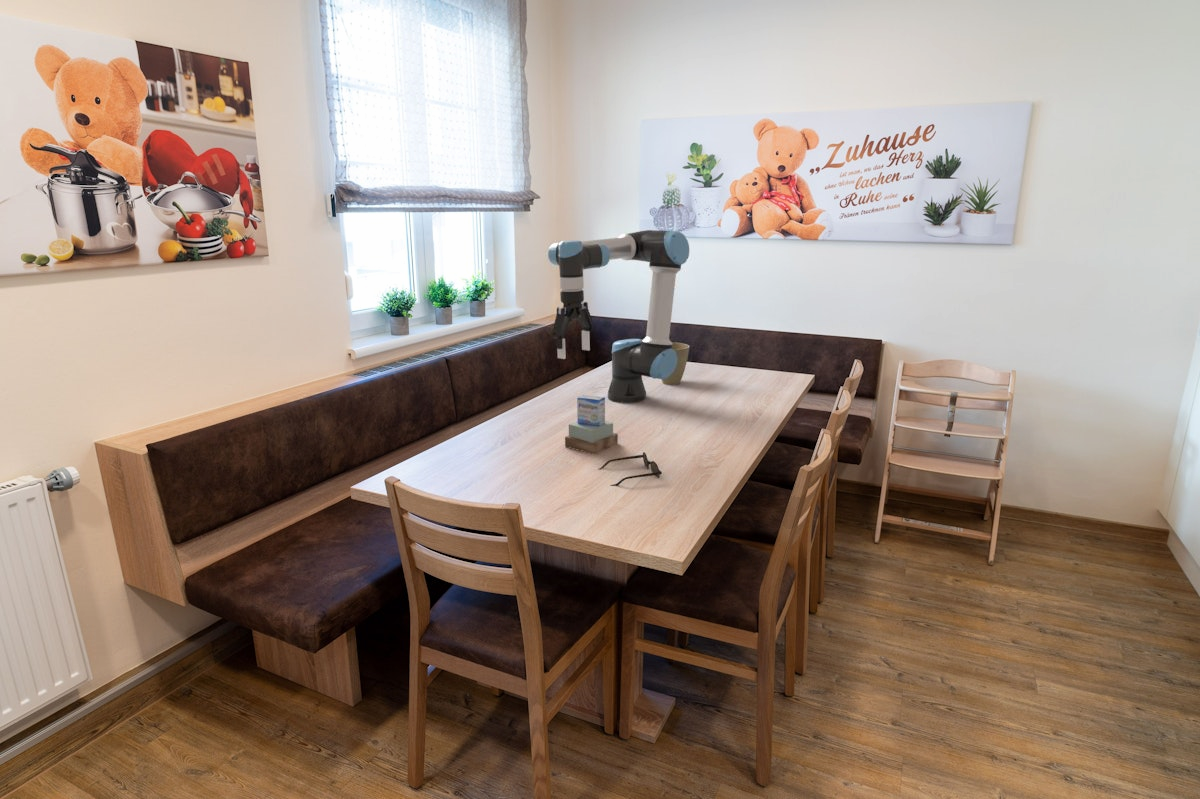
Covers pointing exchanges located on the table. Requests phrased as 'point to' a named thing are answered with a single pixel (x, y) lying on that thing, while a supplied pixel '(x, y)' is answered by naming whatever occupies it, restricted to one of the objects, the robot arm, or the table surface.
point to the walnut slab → (589, 446)
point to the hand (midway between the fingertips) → (574, 354)
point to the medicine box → (591, 410)
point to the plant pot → (678, 364)
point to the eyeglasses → (653, 465)
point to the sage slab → (590, 431)
